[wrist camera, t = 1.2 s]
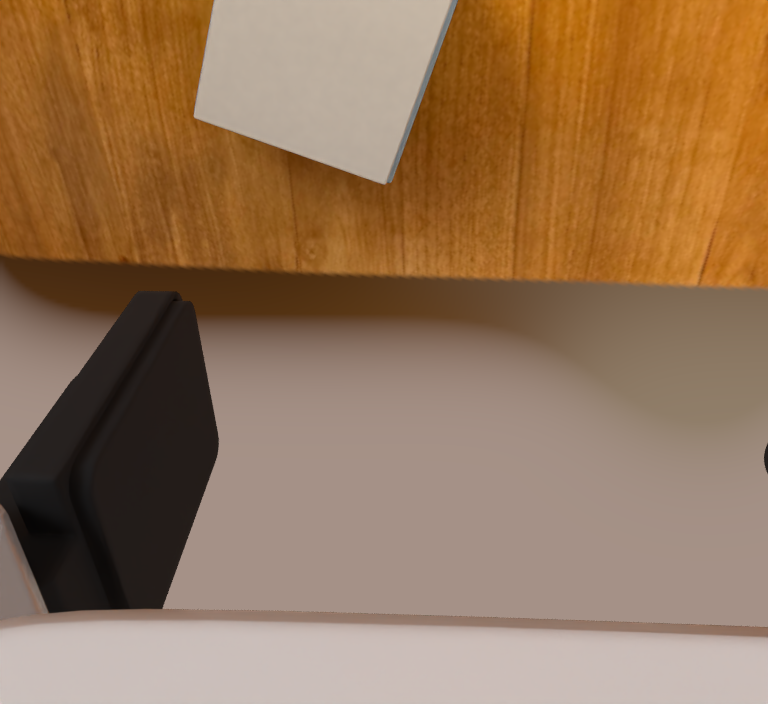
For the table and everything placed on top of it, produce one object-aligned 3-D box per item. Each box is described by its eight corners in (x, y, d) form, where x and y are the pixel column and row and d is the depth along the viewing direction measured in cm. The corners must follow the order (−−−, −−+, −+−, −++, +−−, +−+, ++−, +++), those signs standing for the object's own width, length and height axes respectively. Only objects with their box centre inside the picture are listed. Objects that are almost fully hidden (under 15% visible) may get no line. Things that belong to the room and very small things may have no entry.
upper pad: (220, 88, 22) (184, 123, 19) (263, -125, 19) (228, -131, 15) (394, 151, 23) (389, 195, 20) (464, -43, 20) (472, -31, 16)
